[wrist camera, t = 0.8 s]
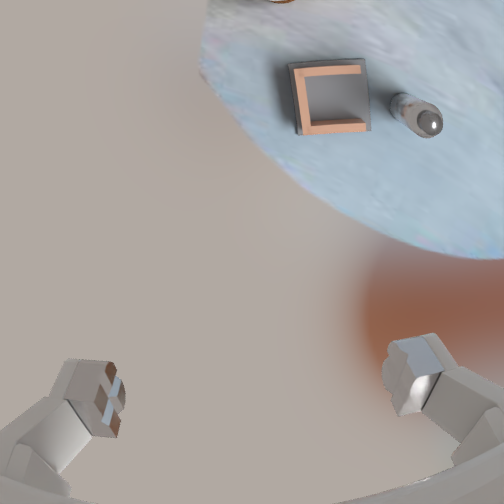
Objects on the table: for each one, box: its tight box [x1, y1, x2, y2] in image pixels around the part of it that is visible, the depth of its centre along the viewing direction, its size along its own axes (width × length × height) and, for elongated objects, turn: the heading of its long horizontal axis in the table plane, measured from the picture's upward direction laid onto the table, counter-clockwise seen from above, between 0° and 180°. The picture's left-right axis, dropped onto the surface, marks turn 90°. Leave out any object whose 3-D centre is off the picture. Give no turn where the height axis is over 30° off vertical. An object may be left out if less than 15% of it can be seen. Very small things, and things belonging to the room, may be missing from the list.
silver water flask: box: [390, 93, 443, 138], centre depth 36 cm, size 4×4×12 cm
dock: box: [288, 59, 371, 136], centre depth 40 cm, size 11×11×4 cm
